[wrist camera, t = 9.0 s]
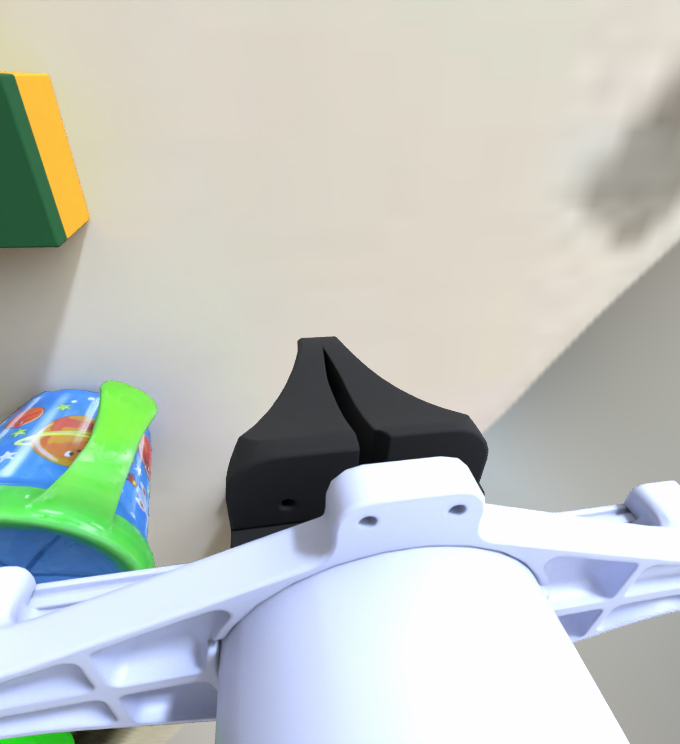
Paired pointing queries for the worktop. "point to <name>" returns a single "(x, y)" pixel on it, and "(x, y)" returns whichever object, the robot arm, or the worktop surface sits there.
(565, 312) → the worktop surface
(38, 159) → the sponge
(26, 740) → the plastic bottle
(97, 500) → the snack cup
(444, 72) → the worktop surface
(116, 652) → the robot arm
